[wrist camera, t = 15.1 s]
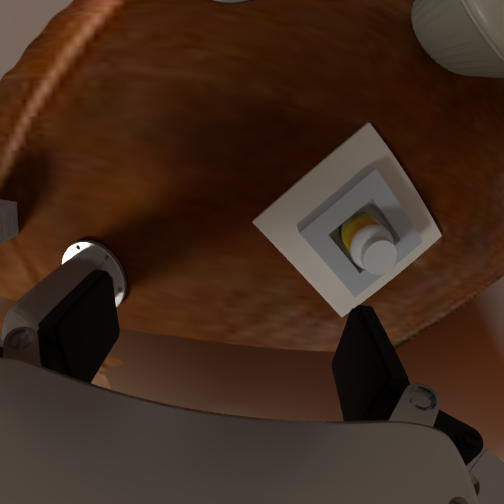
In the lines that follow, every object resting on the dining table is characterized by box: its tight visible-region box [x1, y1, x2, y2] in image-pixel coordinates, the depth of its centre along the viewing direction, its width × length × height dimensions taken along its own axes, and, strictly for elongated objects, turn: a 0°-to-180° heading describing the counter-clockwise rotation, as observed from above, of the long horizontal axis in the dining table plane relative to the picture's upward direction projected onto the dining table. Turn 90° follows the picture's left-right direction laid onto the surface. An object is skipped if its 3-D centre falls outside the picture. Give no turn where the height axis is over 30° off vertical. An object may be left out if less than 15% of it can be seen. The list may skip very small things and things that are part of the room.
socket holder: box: [252, 123, 442, 317], centre depth 36 cm, size 20×20×4 cm
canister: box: [411, 0, 504, 78], centre depth 16 cm, size 18×18×21 cm
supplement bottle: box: [339, 211, 397, 275], centre depth 33 cm, size 5×5×10 cm
